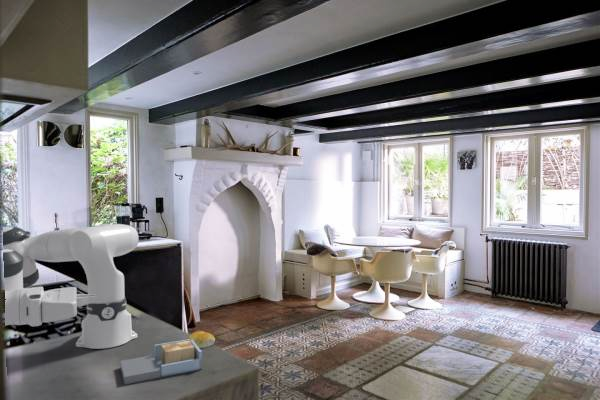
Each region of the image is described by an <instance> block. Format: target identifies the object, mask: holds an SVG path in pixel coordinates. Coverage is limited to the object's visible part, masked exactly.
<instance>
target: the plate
mask: <svg viewBox="0 0 600 400" xmlns="http://www.w3.org/2000/svg"><path fill="white" fill-rule="evenodd" d="M120 371H121V375H122V380H123V383H124V385H129V384H134V383H135V384H136V383H139V382H144V381H150V380H156V379H160V378H162V377H161V374H160V368H159V366H158V364H157V362H156V359H155V354H154V355H153V354H152V355H145V356H141V357H135V358H128V359H123V360H120Z"/></svg>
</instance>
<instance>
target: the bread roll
mask: <svg viewBox="0 0 600 400" xmlns="http://www.w3.org/2000/svg"><path fill="white" fill-rule="evenodd" d="M187 339H193V341H194V342H195V343H196V345H197V346H198V347H199V348H200V349H204V348H209V347H211V346H213V345H214V344H215V341H216V337H215V336H214V335H213V334H212V333H209V332H207V331H206V332H205V331H203V330H198V331H194V332H192V333H191V334H190V335H189V336H188V338H187Z"/></svg>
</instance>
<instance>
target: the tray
mask: <svg viewBox="0 0 600 400" xmlns="http://www.w3.org/2000/svg"><path fill="white" fill-rule="evenodd" d="M184 341H190V342H191V343H192V345H193V346H194V359H191V360H186V361H181V362H175V363H170V364H165V365H163V363H162V345H166V344H172V343H178V342H184ZM153 347H154V357H155V359H156V362H157V364H158V366H159V368H160V374H161V378H164V377H165V378H166V377H171V376H175V375H180V374H185V373H189V372H195V371H199V370H200V371H201V370H203V351H202V350H201V348H199V347H198V346H197V345H196V343H195V342H194V341H193V339H188V338H187V339H181V340H174V341H170V342H163V343H157V344H154V346H153Z"/></svg>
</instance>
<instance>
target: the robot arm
mask: <svg viewBox="0 0 600 400" xmlns="http://www.w3.org/2000/svg"><path fill="white" fill-rule="evenodd" d="M30 235H31V232H30V231H25V230H24V229H23V228H20V227H17V226H3V261H4V278H5V299H6V300H5V326H10V325H13V326H22V325H23V326H24V325H29V326H30V327H39V326H42V324H43V323H52V322H57V321H63V320H68V319H71V318H75V317H76V316H78V314H77V311H78V310H77V309H78V308H79V307H83V306H86V313H87V314H86V316H85V317H84V318H83V319H82V320H81V323H80V329H82V330H81V332H80V333H81V335H80V336H79V337H78V339H77V341H75V348H76V347H77V348H86V349H96V350H97V349H98V350H100V349H110V348H116V347H118V346H121V345H124V344H126V343H128V342H130V341H131V340H134V339H137V338H138V333H137V332H136V331H134V330H133V329H132V314H131V312H129V311H128V310H127V299H126V296H125V275H124V273H123V272H122V271H120V270H119V269H117V267H116V265H115V262H114V258H115V257H121V256H123V255H124V256H125V255H126V254H129V253H130V252H132V251H134V250H135V249H136V248H137V246H138V244H139V240H140V239H139V237H140V236H139V234H138V231H137V229H136V228H134V227H133V226H132V225H129V224H122V223H114V224H113V223H112V224H105V225H96V226H95V225H94V226H87V227H86V226H85V227H77V228H68V229H67V228H66V229H59V230H58V229H57V230H51V231H47V232H46V231H45V232H44V233H40V234H38V235H36V236H30ZM36 260H37V261H40V262H41V261H42V262H47V263H61V262H62V263H64V262H77V261H78V263H79V264H80V265H81V267H82V268H83V270H84V274H85V275H86V281H87V292H88V293H87V294H85V293H77V292H78V291H77V290H78V289H77V287H76V286H70V287H69V286H67V287H61V288H54V289H48V290H44V287H43V286H35V287H34V286H33V285H35V284H36V283H37V282H38V280H39V279H40V272H39V268H37V263H36ZM31 286H33V287H31ZM5 326H4V327H5Z"/></svg>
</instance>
